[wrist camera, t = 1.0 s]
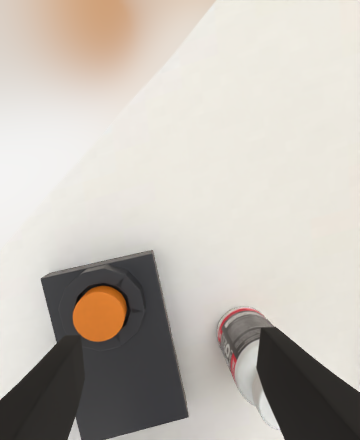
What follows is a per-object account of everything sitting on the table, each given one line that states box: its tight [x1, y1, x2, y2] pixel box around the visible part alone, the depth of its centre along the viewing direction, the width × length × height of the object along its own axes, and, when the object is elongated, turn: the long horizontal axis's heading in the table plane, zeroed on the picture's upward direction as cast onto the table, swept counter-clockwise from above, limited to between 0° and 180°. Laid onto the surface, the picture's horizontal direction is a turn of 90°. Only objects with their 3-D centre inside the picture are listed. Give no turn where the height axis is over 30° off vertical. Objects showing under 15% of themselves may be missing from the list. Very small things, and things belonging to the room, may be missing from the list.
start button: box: [73, 286, 127, 342], centre depth 22 cm, size 4×4×2 cm
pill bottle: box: [217, 307, 280, 430], centre depth 22 cm, size 5×5×10 cm
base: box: [41, 250, 189, 440], centre depth 24 cm, size 16×10×4 cm, turn 12°
